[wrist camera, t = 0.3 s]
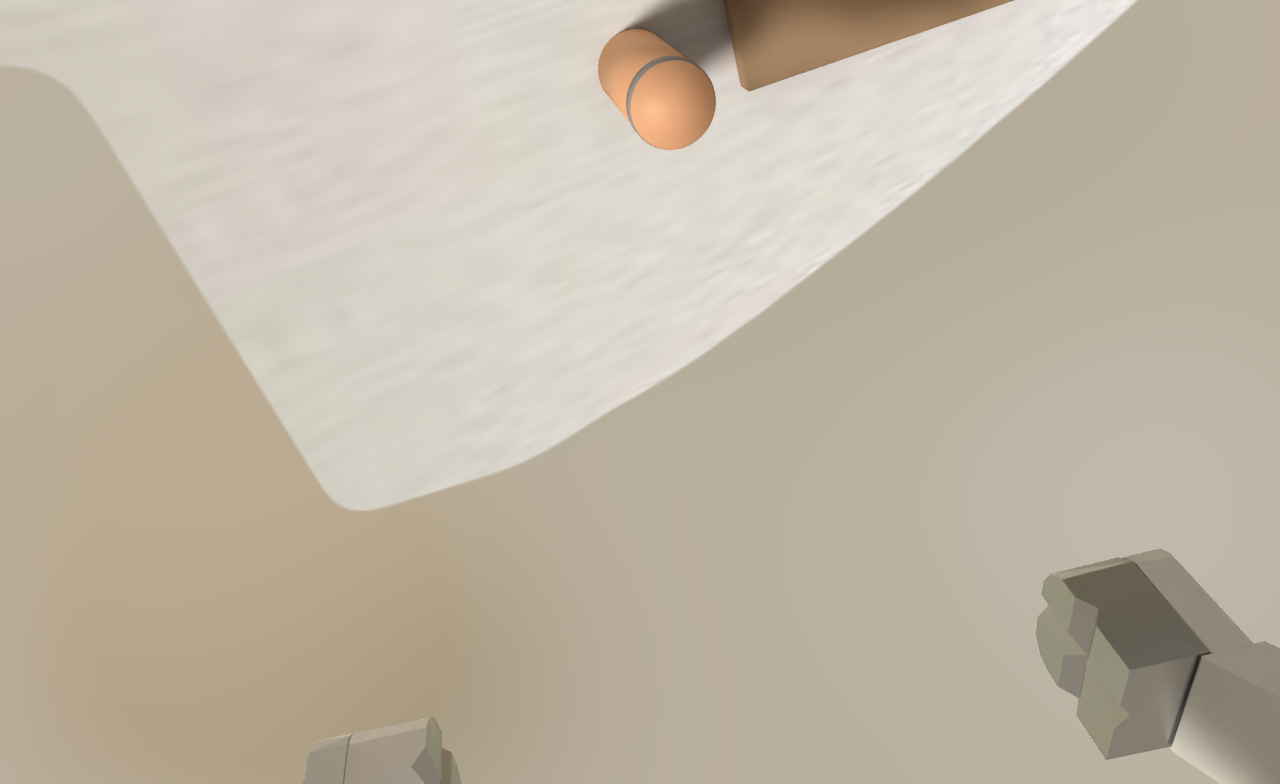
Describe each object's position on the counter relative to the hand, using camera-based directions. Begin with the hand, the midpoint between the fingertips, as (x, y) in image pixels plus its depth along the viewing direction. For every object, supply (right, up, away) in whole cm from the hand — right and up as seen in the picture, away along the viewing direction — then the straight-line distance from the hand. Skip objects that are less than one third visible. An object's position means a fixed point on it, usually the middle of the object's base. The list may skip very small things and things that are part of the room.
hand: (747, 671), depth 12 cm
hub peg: (-2, +23, +41) cm, 47 cm away
